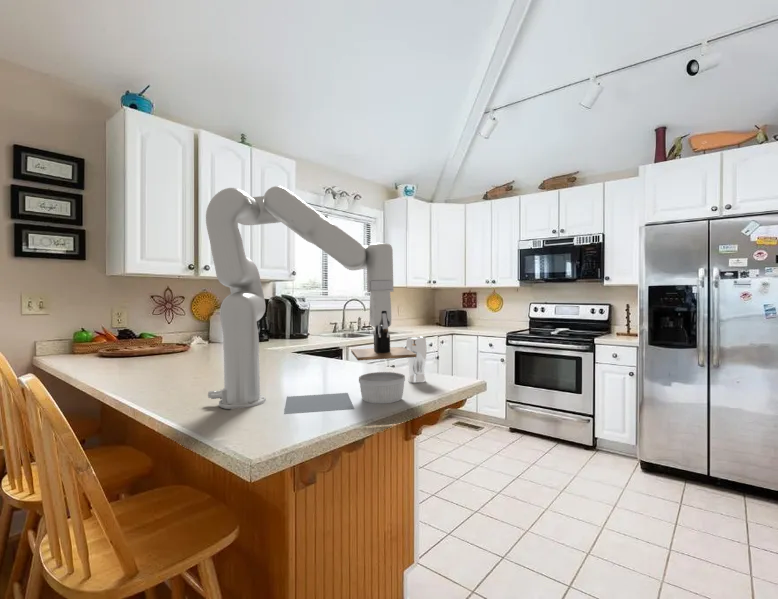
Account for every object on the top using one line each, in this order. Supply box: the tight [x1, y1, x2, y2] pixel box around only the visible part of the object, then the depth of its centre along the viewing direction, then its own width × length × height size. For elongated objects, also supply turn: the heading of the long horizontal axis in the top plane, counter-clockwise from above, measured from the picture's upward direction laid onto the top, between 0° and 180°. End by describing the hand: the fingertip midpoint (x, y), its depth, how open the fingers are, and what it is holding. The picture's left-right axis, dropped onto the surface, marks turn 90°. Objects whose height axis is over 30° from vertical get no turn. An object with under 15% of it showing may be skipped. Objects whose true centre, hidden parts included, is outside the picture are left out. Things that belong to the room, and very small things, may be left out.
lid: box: [351, 333, 416, 362], centre depth 121 cm, size 16×16×6 cm
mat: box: [283, 392, 355, 415], centre depth 117 cm, size 18×18×1 cm
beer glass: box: [405, 336, 428, 384], centre depth 144 cm, size 7×7×15 cm
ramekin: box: [358, 371, 406, 404], centre depth 121 cm, size 13×13×7 cm
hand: (381, 350), depth 121 cm, fingers closed on lid, 4 cm apart
